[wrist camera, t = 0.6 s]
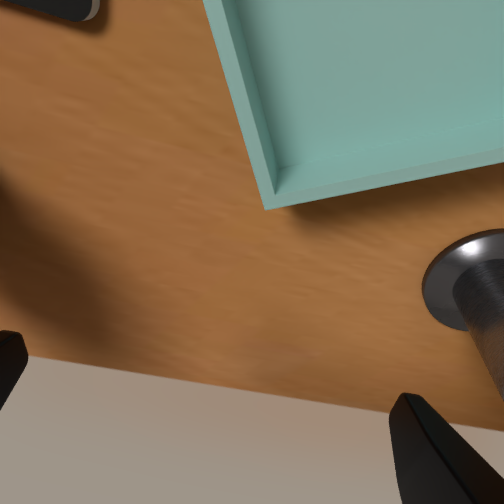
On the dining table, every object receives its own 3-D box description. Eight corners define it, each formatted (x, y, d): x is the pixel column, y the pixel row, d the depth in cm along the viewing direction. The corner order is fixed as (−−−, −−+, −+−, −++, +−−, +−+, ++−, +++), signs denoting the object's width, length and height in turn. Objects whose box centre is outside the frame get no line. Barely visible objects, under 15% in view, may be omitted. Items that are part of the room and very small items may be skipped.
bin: (270, 177, 20) (265, 210, 17) (186, -131, 13) (153, -165, 10) (533, 118, 17) (582, 146, 14) (580, -311, 10) (690, -430, 8)
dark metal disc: (424, 330, 24) (426, 337, 24) (418, 241, 21) (421, 247, 20) (548, 317, 23) (554, 324, 22) (566, 217, 19) (573, 223, 19)
